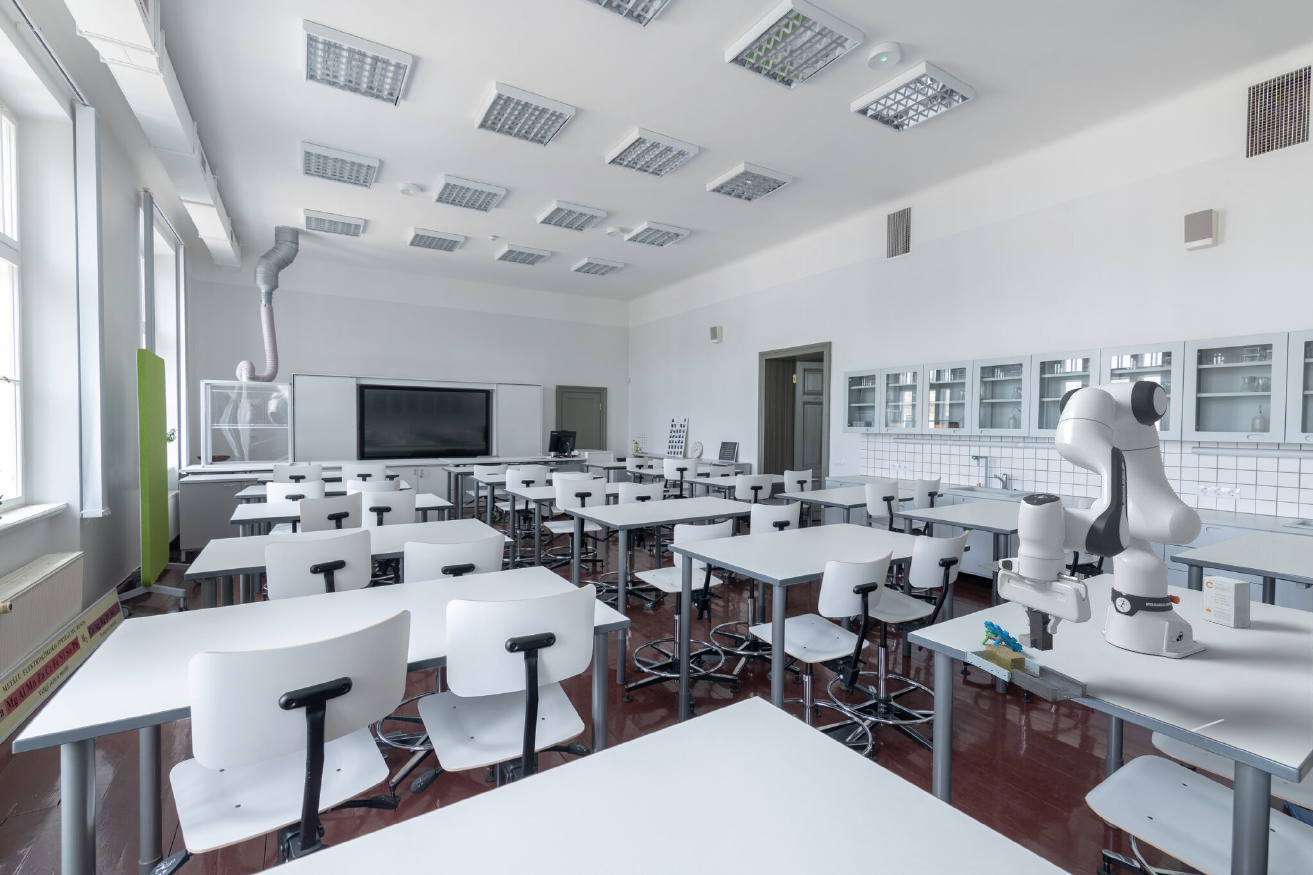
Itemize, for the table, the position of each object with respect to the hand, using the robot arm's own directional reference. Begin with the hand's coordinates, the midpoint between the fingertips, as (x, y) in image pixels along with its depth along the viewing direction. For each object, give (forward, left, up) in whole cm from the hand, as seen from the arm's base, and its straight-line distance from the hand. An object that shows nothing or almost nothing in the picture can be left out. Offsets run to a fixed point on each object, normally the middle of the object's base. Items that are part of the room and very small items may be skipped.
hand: (1041, 629), depth 130 cm
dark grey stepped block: (0, 0, -4) cm, 4 cm away
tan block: (0, -11, -12) cm, 17 cm away
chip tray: (+1, -9, -12) cm, 15 cm away
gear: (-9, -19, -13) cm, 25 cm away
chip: (+1, -7, -12) cm, 14 cm away
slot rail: (+1, +2, -12) cm, 13 cm away
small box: (-91, -20, -13) cm, 94 cm away
